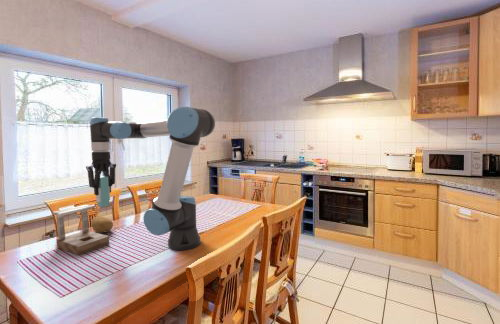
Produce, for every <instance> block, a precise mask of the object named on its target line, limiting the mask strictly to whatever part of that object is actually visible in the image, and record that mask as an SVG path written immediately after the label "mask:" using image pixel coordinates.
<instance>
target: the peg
mask: <svg viewBox="0 0 500 324" xmlns="http://www.w3.org/2000/svg"><path fill="white" fill-rule="evenodd" d="M99 188H101V202H97V201H96V202H97V208H98V207H99V208H105V207H106V208H107V207H109V206H110V200H109V184H108V177H107V176H104V175H100V182H99Z"/></svg>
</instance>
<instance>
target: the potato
mask: <svg viewBox="0 0 500 324" xmlns="http://www.w3.org/2000/svg"><path fill="white" fill-rule="evenodd" d="M90 226H91V228H92V230H93V232H95V233H99V234H103V233H108V232H109V231H111V230H112V229H113V228H114V223H113V221H112V220H111V219H110V218H108V217H105V216H95V217H93V218H92V219H91V222H90Z"/></svg>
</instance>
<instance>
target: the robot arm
mask: <svg viewBox="0 0 500 324" xmlns="http://www.w3.org/2000/svg"><path fill="white" fill-rule="evenodd" d="M89 123H90V125H89V128H90V130H89V132H90V143H91V146H90V147H91V160H92V162H91V164H90V165H87V166H85V168H86V171H87V177H88V185H89V188H92V189H93V194H94V195H95V198H96V199H95V200H96V202H101V188H99V182H100V176H102V175H101V174H102V173H103V176H107V177H108V184H109V201H111V193H112V187H113V185H115V183H116V167H117V163H112V161H111V152H110V150H111V145H110V139H113V140H116V139H117V140H125V139H147V138H157V137H168V136H169V137H168V138H169V140H170V142H171V145H170V150H169V153H168V157H167V161H166V165H165V169H164V173H163V177H162V182H161V185H160V189H159V193H158V196H156V197H154V199H153V201H152V205H151V208H148V209H147V210H146V211H145V212H144V214H143V223H144V226H145V228H146V230H147V231H148V232H149V233H150V234H152V235H154V236H163V235H165V234H168V233H169V237H168V239H167V247H168V249H170V250H173V251H189V250H192V249H195V248H197V247H199V246H200V245H201V242H202V241H201V237H200V236H201V235H199V234H200V233H199V231H198V228H197V202H196V198H195V197H194V196H191V195H190V196H189V195H182V192H183V188H184V184H185V180H186V177H187V175H188V171H189V167H190V164H191V163H190V162H191V159H192V156H193V152H194V149H195V148H197V147H198V146H199V144H200V141H201V138H204V137H208V136H210V135H211V134H212V133H213V131H214V129H215V127H216V120H215V118H214V116H213V114H212V113H211V112H210V111H208V110H206V109H203V108H197V107H191V106H179V107H176V108H175V109H173V110H172V111H170V113H169V115H168V117H167V118H166V119H160V120H152V121H151V120H150V121H143V122H126V121H109V118H108V117H98V116H97V117H91V118H90V121H89Z"/></svg>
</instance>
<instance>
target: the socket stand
mask: <svg viewBox="0 0 500 324" xmlns="http://www.w3.org/2000/svg"><path fill="white" fill-rule="evenodd" d="M92 209H94V206H93V205H90V204H83V205H78V206H75V207H69V208H64V209H61V210H56V211H53V212H52V214H53V215H55V216H56V228H57V238H56V247H57V249H60V250H62V251H66V252H68V253H70V254H73V253H74V255H77V256H82V255H84V254H87V253H91V252H92V250H93V251H95V250H97V249H100V247H101V248H103V247H106V246H108V244H109V245H110V236H109V235H106V234H103V233H99V232H96V231H91V230H89V218H88V215H89V214H88V211H89V210H92ZM76 213H80V216H81V217H80V218H81V229H82V231H79V232H77V233H73V234H71V235H67V236H66V230H65V218H64V216H67V215H70V214H76Z"/></svg>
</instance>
